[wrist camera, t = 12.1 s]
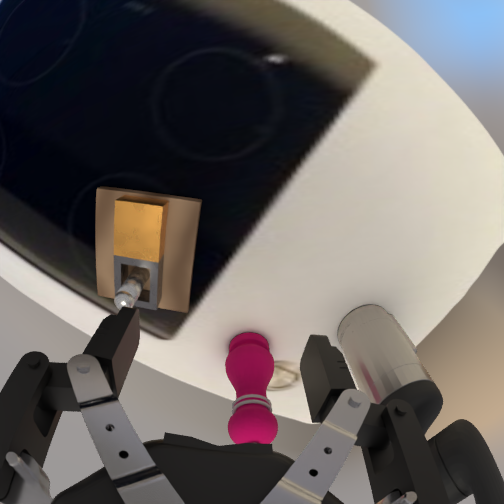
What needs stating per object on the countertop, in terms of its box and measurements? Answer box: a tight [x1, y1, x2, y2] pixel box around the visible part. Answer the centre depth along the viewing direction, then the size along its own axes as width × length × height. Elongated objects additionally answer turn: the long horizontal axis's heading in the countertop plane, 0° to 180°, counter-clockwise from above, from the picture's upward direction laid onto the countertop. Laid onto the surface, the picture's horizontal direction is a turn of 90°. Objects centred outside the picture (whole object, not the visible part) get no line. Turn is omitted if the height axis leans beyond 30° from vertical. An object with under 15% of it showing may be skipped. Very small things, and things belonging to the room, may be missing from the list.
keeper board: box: [96, 186, 202, 313], centre depth 38 cm, size 14×16×2 cm
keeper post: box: [114, 266, 150, 310], centre depth 35 cm, size 2×2×8 cm
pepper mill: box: [225, 332, 278, 444], centre depth 37 cm, size 7×7×20 cm
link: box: [114, 195, 169, 310], centre depth 36 cm, size 6×14×3 cm, turn 170°
